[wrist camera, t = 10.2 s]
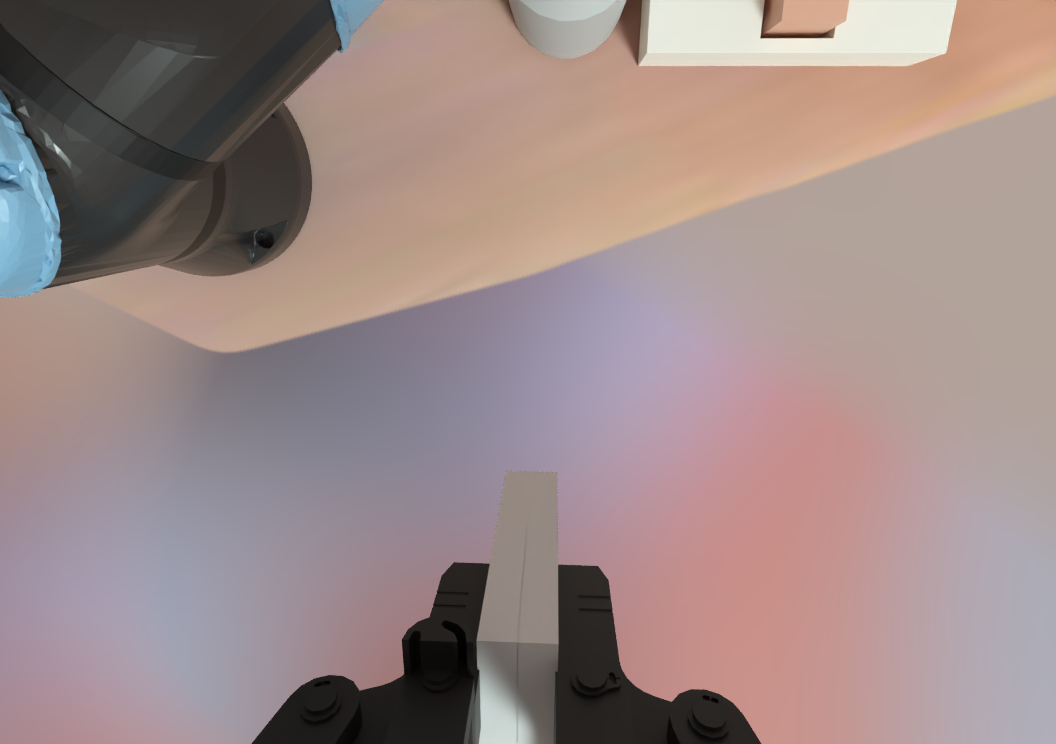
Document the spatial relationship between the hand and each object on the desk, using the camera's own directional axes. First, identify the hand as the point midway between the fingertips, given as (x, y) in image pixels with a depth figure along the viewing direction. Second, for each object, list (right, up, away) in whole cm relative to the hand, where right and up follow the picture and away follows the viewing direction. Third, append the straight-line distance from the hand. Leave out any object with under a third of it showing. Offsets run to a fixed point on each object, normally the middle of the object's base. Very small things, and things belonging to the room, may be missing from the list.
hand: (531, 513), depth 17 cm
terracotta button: (+16, +27, +20) cm, 38 cm away
